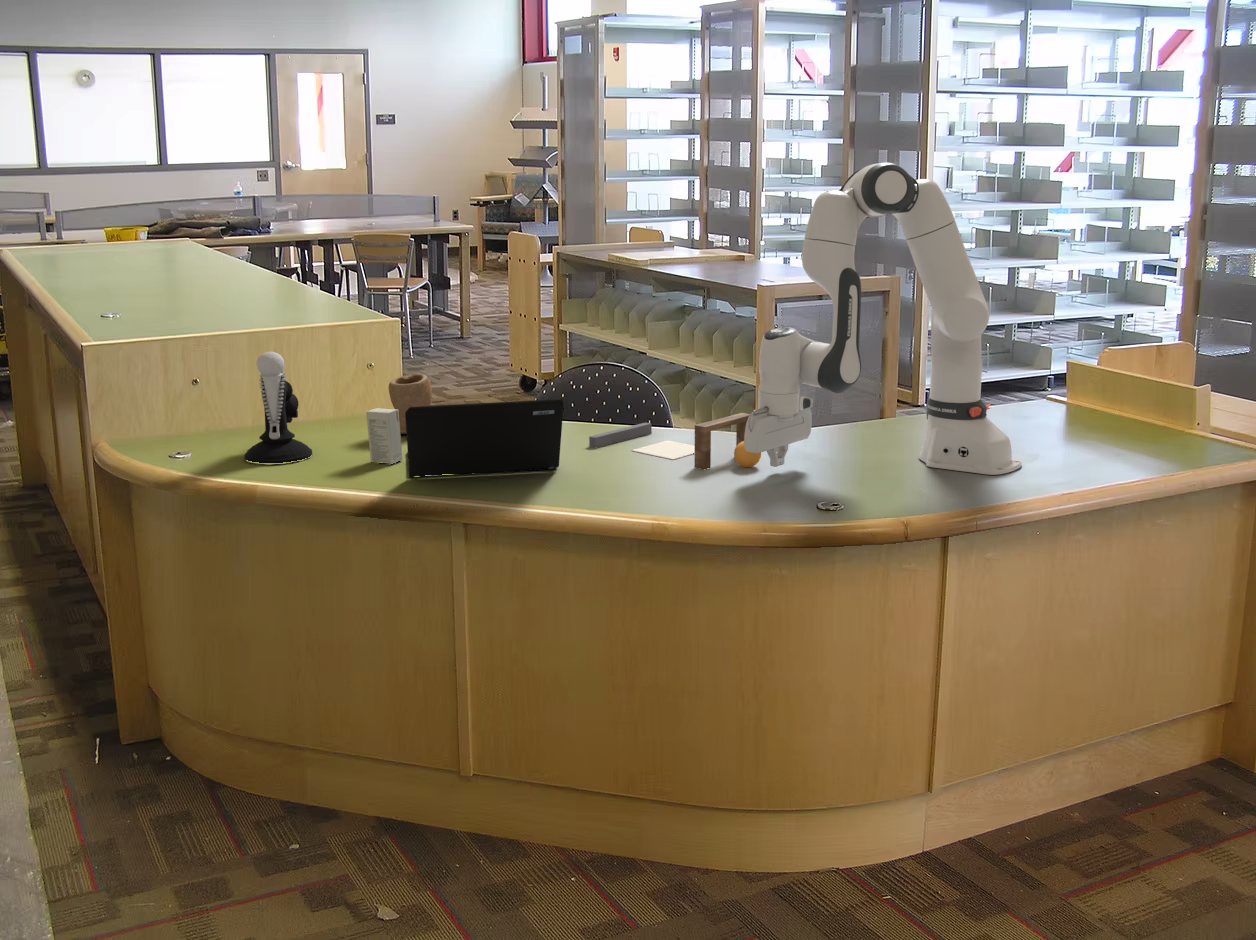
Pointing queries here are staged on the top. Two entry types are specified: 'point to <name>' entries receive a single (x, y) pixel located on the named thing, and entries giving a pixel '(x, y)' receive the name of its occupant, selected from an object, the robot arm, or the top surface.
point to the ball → (745, 456)
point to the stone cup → (409, 394)
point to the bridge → (705, 436)
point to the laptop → (484, 437)
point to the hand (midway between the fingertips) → (777, 465)
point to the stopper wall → (620, 435)
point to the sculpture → (277, 415)
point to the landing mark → (667, 450)
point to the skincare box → (384, 435)
